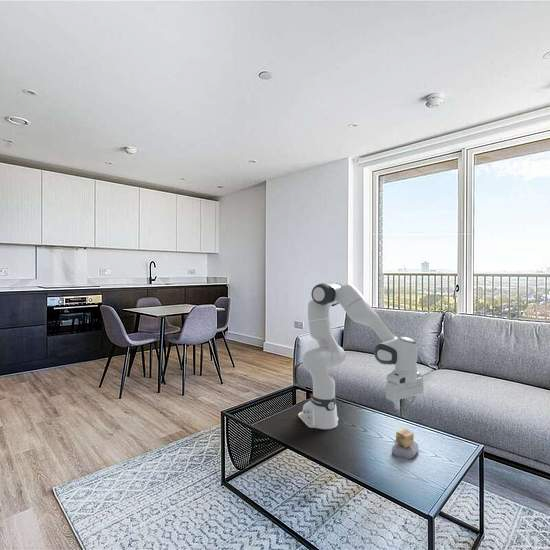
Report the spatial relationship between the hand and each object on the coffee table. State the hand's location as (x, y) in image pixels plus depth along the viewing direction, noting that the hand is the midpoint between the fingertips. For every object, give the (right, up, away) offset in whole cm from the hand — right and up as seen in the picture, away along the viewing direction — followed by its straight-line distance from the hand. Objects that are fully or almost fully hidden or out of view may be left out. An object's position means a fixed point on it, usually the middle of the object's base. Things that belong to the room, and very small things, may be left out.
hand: (404, 406), depth 150 cm
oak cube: (0, -16, 0) cm, 16 cm away
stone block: (+1, -20, 0) cm, 20 cm away
